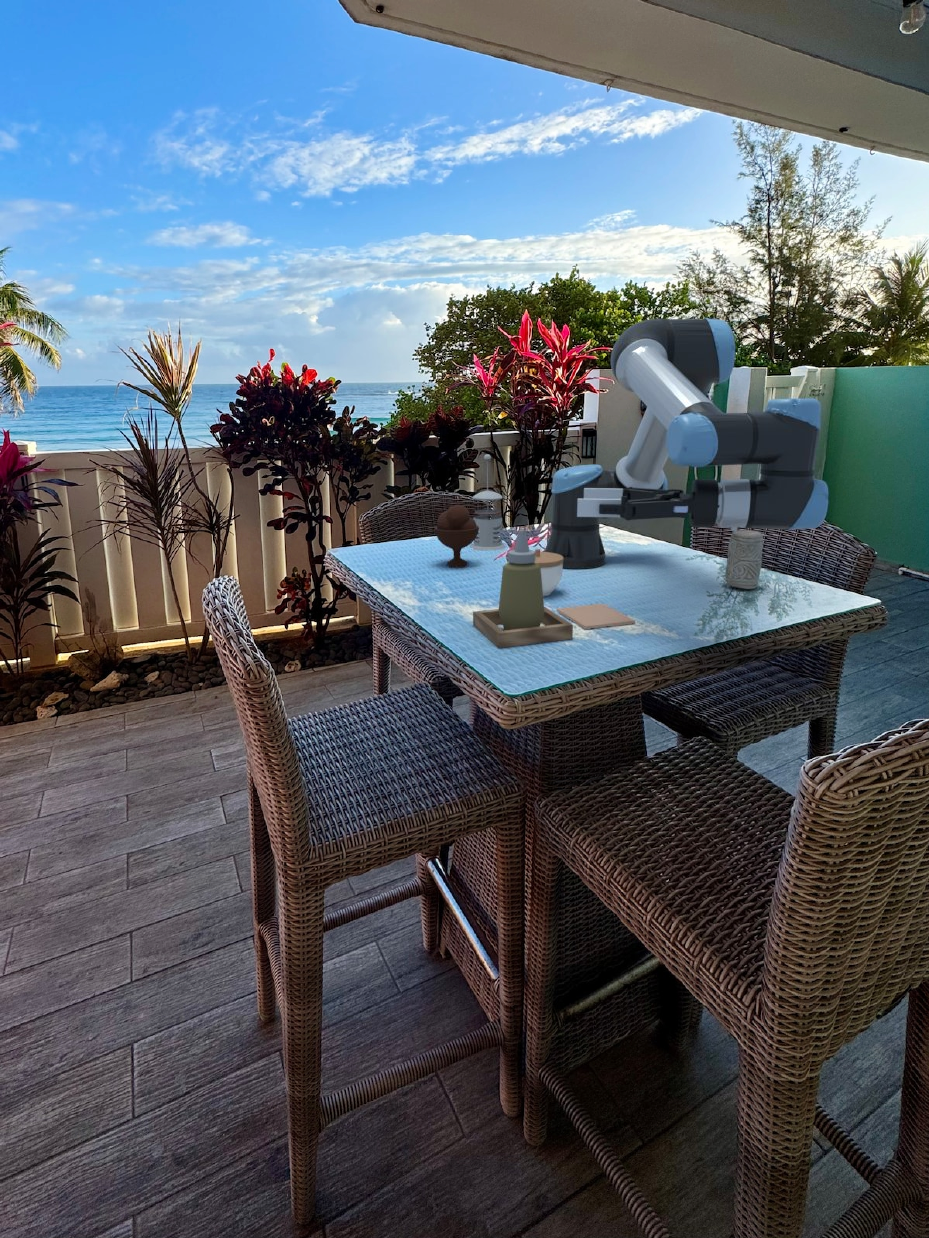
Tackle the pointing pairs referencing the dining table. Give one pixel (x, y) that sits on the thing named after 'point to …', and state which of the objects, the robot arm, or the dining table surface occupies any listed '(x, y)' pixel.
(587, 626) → the tile
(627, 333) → the robot arm
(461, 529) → the ice cream bowl
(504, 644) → the wooden frame
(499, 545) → the french press
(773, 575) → the dining table surface
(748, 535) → the carving
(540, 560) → the lidded jar
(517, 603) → the squeeze bottle
